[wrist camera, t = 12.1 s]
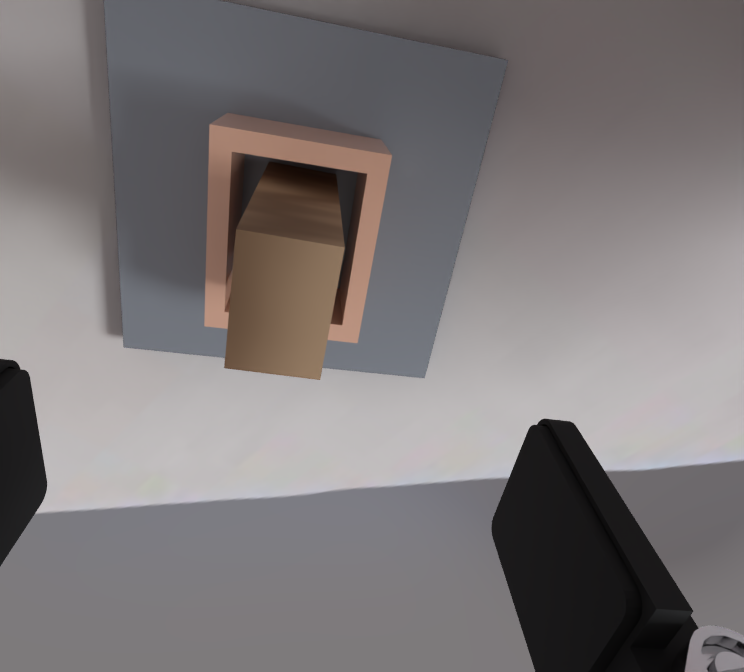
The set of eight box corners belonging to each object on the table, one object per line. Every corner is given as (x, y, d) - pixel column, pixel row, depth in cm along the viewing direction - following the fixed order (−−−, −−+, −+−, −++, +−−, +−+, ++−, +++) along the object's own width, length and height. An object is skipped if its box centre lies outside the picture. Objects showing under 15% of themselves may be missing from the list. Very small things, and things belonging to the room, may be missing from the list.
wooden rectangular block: (336, 174, 23) (344, 247, 15) (320, 267, 25) (319, 379, 17) (269, 161, 23) (235, 229, 14) (258, 256, 25) (224, 368, 16)
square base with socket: (501, 59, 22) (552, 61, 18) (421, 368, 30) (441, 431, 25) (111, -21, 20) (41, -46, 15) (129, 337, 27) (87, 401, 22)
